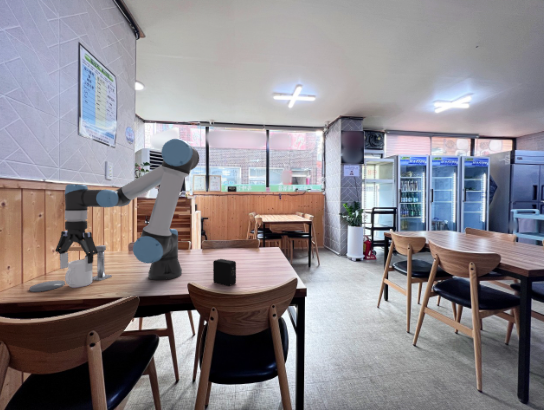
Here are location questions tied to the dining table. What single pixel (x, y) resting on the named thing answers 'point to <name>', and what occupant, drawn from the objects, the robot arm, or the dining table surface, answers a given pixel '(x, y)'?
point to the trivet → (47, 286)
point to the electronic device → (224, 272)
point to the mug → (78, 274)
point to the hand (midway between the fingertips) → (76, 269)
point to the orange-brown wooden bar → (79, 248)
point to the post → (100, 267)
